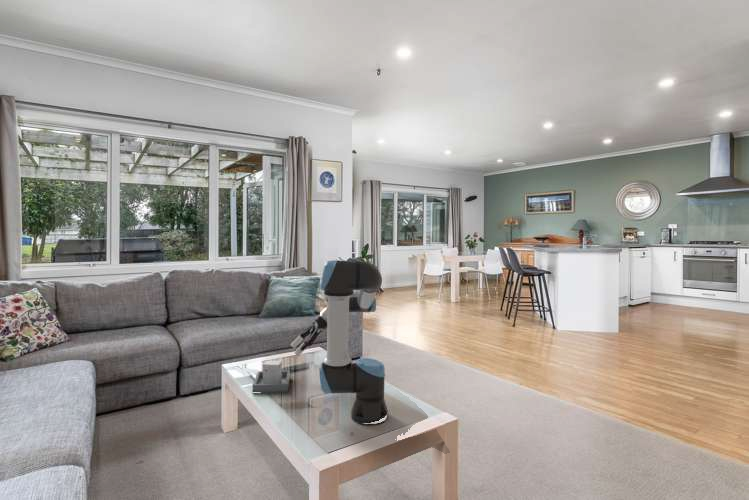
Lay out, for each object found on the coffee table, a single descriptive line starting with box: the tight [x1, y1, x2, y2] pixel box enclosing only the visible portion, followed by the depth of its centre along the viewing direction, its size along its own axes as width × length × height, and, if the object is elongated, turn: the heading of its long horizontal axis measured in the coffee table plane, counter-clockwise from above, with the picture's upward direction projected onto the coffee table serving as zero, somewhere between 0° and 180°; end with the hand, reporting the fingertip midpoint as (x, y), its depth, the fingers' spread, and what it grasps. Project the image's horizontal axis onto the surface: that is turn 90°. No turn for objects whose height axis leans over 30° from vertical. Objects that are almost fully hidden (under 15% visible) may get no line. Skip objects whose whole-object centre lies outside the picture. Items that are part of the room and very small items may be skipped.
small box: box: [262, 360, 283, 384], centre depth 192 cm, size 8×6×10 cm
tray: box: [252, 370, 291, 394], centre depth 193 cm, size 18×16×4 cm
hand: (294, 350), depth 195 cm, fingers open, 13 cm apart
